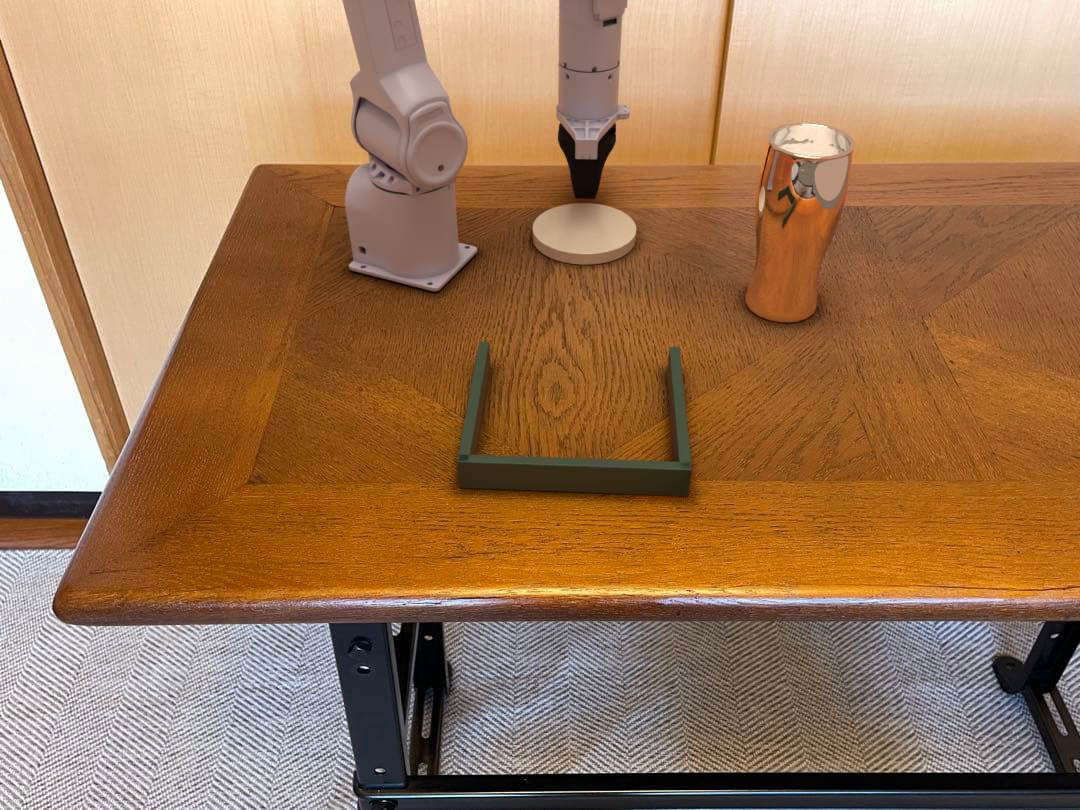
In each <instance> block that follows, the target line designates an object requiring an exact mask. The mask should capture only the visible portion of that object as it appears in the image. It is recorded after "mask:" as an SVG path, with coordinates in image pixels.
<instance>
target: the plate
mask: <svg viewBox="0 0 1080 810" xmlns="http://www.w3.org/2000/svg"><path fill="white" fill-rule="evenodd" d="M531 229H532V231H531V233H532V242H533V246H535V247H534V248H536V249H537V250H538V252H540V253H541V254H542V255H544V256H545V257H548V258H550V259H552V260H555V261H558V262H561V263H565V264H570V265H579V266H581V265H582V266H584V265H585V266H588V265H599V264H601V265H602V264H606V263H610V262H613V261H616V260H618V259H620V258H623V257H624V256H626V255H628V254H629V253H630V252H631V251H632V250H633V249H634V247H635V245H636V243H637V242H636V241H637V225H636V223H635V221H634V220H633V218H632V217H631V216H629V214H627V213H626V212H624V211H622V210H620V209H617V208H615V207H613V206H609V205H605V204H601V203H600V204H599V203H593V202H589V203H588V202H576V203H575V202H574V203H568V204H567V203H566V204H562V205H558V206H554V207H552V208H549V209H546V210H545V211H544V212H542V213H540V214H539V215H538V216H537V217H536V218H535V219H534V221H533V223H532V227H531Z"/></svg>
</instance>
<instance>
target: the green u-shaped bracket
mask: <svg viewBox="0 0 1080 810" xmlns="http://www.w3.org/2000/svg"><path fill="white" fill-rule="evenodd" d="M490 350H491V349H490V341H479V342H478V347H477V352H476V357H475V363H474V369H473V373H472V378H471V384H470V389H469V395H468V400H467V406H466V411H465V416H464V422H463V427H462V432H461V438H460V442H459V443H460V444H459V449H458V454H457V458H456V459H457V460H456V467H457V476H458V477H457V478H458V487H459V489H479V490H506V491H507V490H508V491H509V490H510V491H532V492H533V491H534V492H535V491H538V492H562V493H563V492H565V493H586V494H587V493H591V494H616V495H617V494H618V495H619V494H620V495H642V496H643V495H644V496H646V495H648V496H674V497H689V495H690V489H691V488H690V487H691V481H692V472H693V465H692V457H691V456H692V455H691V447H690V436H689V427H688V416H687V406H686V396H685V386H684V378H683V377H684V376H683V366H682V357H681V348H680V347H679V346H669V348H668V357H667V366H666V378H667V392H668V405H669V417H670V428H671V429H670V430H671V442H672V455H673V461H668V460H667V461H666V460H665V461H664V460H637V459H635V460H634V459H607V458H578V457H577V458H576V457H553V456H551V457H550V456H521V455H494V454H493V455H492V454H491V455H489V454H477V452H478V446H479V439H480V433H481V428H482V421H483V416H484V408H485V402H486V397H487V391H488V384H489V378H490V371H491V351H490Z"/></svg>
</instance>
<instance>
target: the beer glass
mask: <svg viewBox="0 0 1080 810" xmlns="http://www.w3.org/2000/svg"><path fill="white" fill-rule="evenodd" d="M766 139H767V140H766V144H765V148H764V153H763V156H762V160H761V165H760V170H759V174H758V180H757V185H756V192H755V203H754V204H755V206H754V207H755V208H754V209H755V210H754V219H755V220H754V223H755V224H754V225H755V249H756V251H755V264H754V268H753V272H752V275H751V279H750V281H749V284H748V286H747V289H746V292H745V296H744V301H745V304H746V307H747V308H748V309H749V310H750V311H751V312H752V313H753V314H755V315H756V316H758V317H760V318H762V319H764V320H767V321H771V322H775V323H785V324H786V323H798V322H801V321H804V320H807V319H808V318H810V317H812V316H813V314H814V313H815V312H816V309H817V305H818V280H819V274H820V269H821V266H822V263H823V261H824V258H825V256H826V254H827V251H828V249H829V246H830V244H831V242H832V240H833V238H834V235H835V232H836V231H837V228H838V226H839V222H840V219H841V217H842V214H843V212H844V207H845V205H846V200H847V195H848V191H849V185H850V180H851V172H852V167H853V166H852V165H853V157H854V150H855V148H856V147H855V146H856V142H855V140H854V138H853V137H852V136H851V135H850V134H849V133H847V132H846V131H844V130H841V129H839V128H836V127H834V126H830V125H827V124H821V123H814V122H813V123H812V122H792V123H786V124H782V125H778V126H777V127H774V128H772V129H771V130H770V131H769V132H768V134H767V138H766Z"/></svg>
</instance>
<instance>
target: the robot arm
mask: <svg viewBox="0 0 1080 810" xmlns="http://www.w3.org/2000/svg"><path fill="white" fill-rule="evenodd" d="M341 2H342V5H343V9H344V12H345V17H346V20H347V21H346V22H347V24H348V28H349V32H350V36H351V39H352V43H353V47H354V51H355V55H356V59H357V63H358V67H359V71H358V72H356V74H354V76H353V77H351V80H350V81H349V87H350V89H351V94H352V111H351V117H350V127H351V128H350V129H351V133H352V136H353V138H354V140H355V142H356V143H357V145H358V146H359V147H360V148H361V149H362V150H364V151H365V152H366V153H367V157H368V162H365V163H362V164H360V165H358V166H357V167H356V169H355V170H354V171H353V172H352V174H351V175H350V177H349V179H348V182H347V185H346V189H345V195H344V207H345V214H346V221H347V222H346V223H347V229H348V234H349V241H350V247H351V254H352V259H353V260H352V261H351V262H350V263H349V264H348V269H349V270H350V271H352V272H356V273H359V274H364V275H366V276H367V275H368V276H371V277H376V278H380V279H383V280H388V281H392V282H394V283H398V284H399V283H400V284H403V285H408V286H411V287H415V288H419V289H422V290H426V291H430V292H439V291H440V290H441V289H443V288H444V286H445V285H446V284H448V282H449V281H450V280H452V278H453V277H455V275H456V274H457V273H458V272H459V271H460V270H462V268H463V267H464V266H465V265H466V264H467V263H469V261H471V260H472V259H473V258H474V256H475V255H476V254H477V253H478V247H477V246H475V245H470V244H466V243H462V242H460V241H459V229H458V227H459V226H458V216H457V215H458V213H457V200H456V188H455V187H456V185H455V184H456V182H457V175H458V174H459V173H460V171H461V170H462V168H463V167H464V165H465V162H466V159H467V155H468V151H469V150H468V149H469V142H468V134H467V133H466V130H465V129H464V126H463V125H462V123H461V122H460V121H459V120H458V119H457V118H456V116H455V115H454V112H453V110H452V106H451V101H450V96H449V95H448V93H447V90H446V89H445V88H444V86H443V84H442V83H441V81H440V80H439V78H438V77H437V75H436V74H435V73H434V71H433V70H432V68H431V66H430V65H429V62H428V59H427V54H426V53H427V52H426V49H425V44H424V39H423V36H422V35H423V34H422V29H421V24H420V20H419V19H420V18H419V15H418V10H417V6H416V1H415V0H341ZM626 8H628V0H558V74H557V75H558V79H557V80H558V81H557V82H558V83H557V84H558V85H557V86H558V87H557V105H556V107H555V117H556V119H557V120H558V122H559V124H558V130H557V131H558V132H557V142H558V145H559V148H560V149H561V151H562V153H563V155H564V157H565V160H566V162H567V165H568V169H569V174H570V181H571V187H572V192H573V195H574V198H575V199H576V200H577V199H579V200H595V199H596V197H597V195H598V192H599V189H600V184H601V180H602V176H603V175H602V174H603V170H604V167H605V164H606V162H607V159H608V158H609V155H610V153H611V152H612V151H613V150H614V147H615V146H616V142H617V134H616V133H617V123H616V122H617V121H620V120H628V119H629V118H630V115H631V114H630V113H631V107H630V106H629V105H628V104H619V89H620V71H621V69H620V68H621V54H622V53H621V52H622V51H621V50H622V32H623V15H624V14H625V11H626Z"/></svg>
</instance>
